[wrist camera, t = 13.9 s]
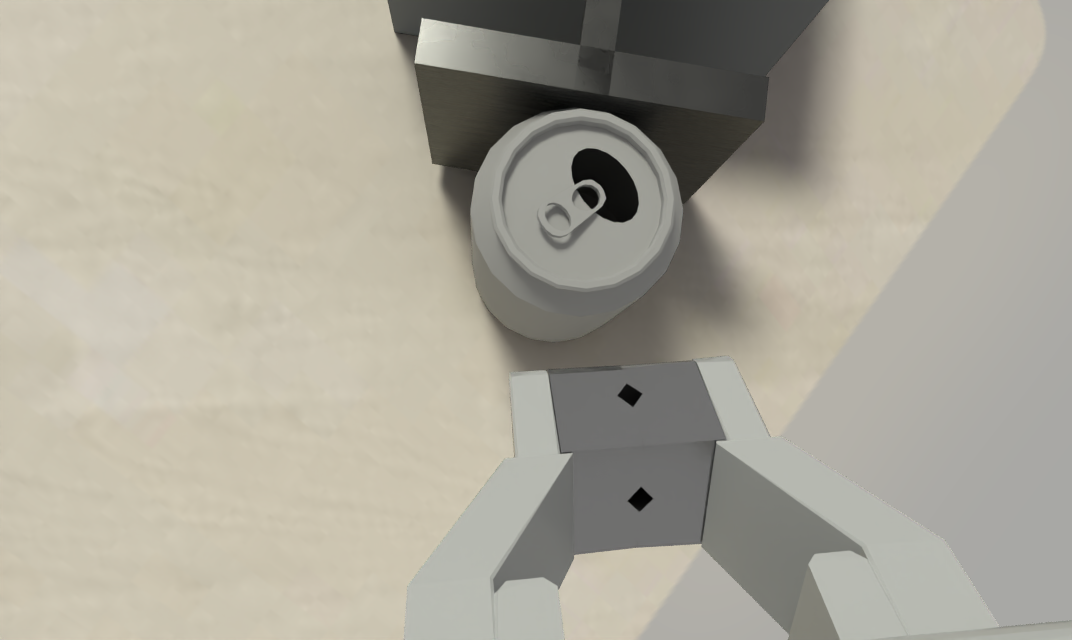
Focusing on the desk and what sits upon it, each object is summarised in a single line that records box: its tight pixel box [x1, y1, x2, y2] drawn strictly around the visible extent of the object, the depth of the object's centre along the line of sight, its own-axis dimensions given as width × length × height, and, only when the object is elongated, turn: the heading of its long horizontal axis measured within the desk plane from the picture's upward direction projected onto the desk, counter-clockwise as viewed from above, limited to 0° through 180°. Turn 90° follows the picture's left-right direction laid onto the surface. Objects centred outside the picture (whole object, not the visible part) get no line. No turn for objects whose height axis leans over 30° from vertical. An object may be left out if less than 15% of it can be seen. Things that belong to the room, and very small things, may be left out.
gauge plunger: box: [414, 0, 769, 204], centre depth 32 cm, size 10×12×10 cm
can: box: [470, 107, 683, 342], centre depth 32 cm, size 8×8×12 cm
